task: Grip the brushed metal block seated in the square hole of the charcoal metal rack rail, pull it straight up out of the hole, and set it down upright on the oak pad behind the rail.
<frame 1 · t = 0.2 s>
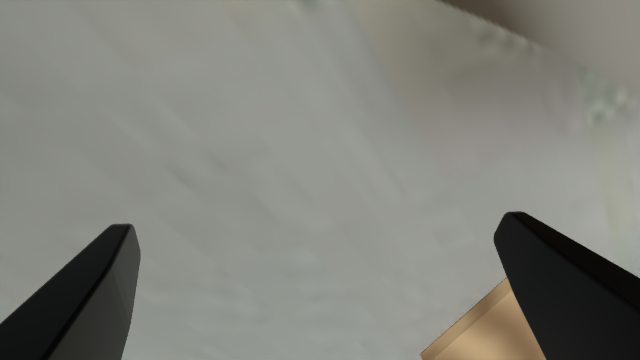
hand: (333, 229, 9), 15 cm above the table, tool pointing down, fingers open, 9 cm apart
oak pad: (507, 339, 35), on the table
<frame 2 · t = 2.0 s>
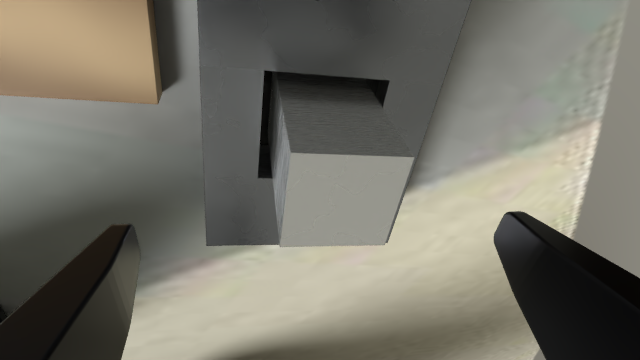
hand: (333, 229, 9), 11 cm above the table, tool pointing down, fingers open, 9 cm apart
brushed metal block: (310, 101, 19), resting in rack rail
rack rail: (322, 19, 17), on the table
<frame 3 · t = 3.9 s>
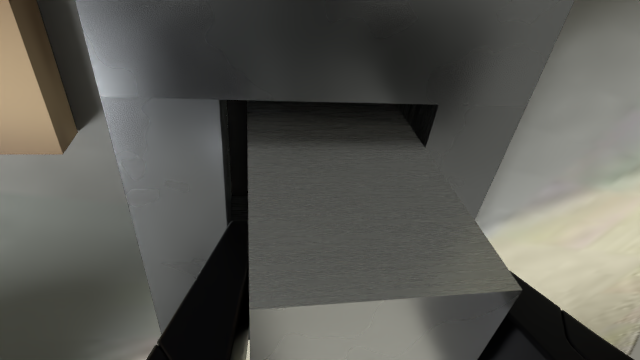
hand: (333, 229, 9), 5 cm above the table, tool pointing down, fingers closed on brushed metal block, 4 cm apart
brushed metal block: (308, 133, 13), resting in rack rail, touching gripper
rack rail: (320, 5, 10), on the table
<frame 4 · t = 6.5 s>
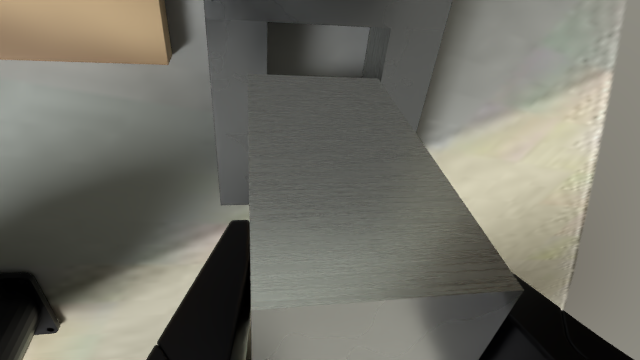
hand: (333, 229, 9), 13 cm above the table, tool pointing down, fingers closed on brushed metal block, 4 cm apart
brushed metal block: (309, 133, 13), point 8 cm above the table, touching gripper
when the fingers open (7 cm above the table, at t = 8.9 s): brushed metal block drops 1 cm, resting on oak pad.
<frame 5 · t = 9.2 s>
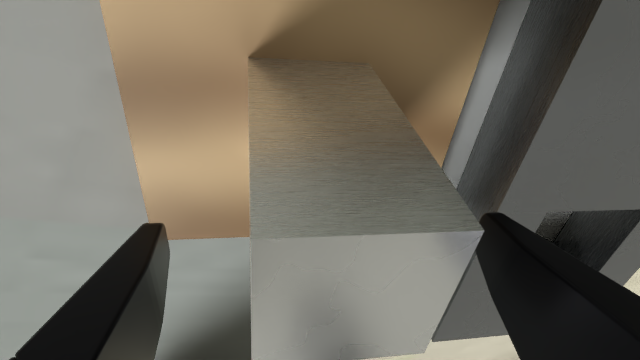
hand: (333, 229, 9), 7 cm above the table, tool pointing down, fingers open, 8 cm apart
brushed metal block: (305, 115, 14), point 1 cm above the table, touching oak pad
rack rail: (569, 146, 18), on the table
oak pad: (300, 100, 15), on the table
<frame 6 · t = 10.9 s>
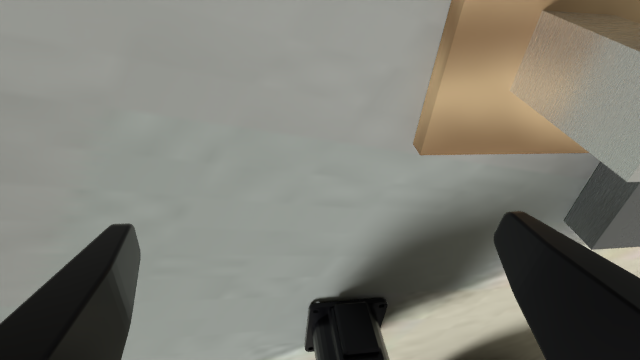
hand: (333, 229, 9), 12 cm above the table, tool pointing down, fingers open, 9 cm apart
brushed metal block: (560, 54, 20), point 1 cm above the table, touching oak pad
oak pad: (545, 46, 21), on the table
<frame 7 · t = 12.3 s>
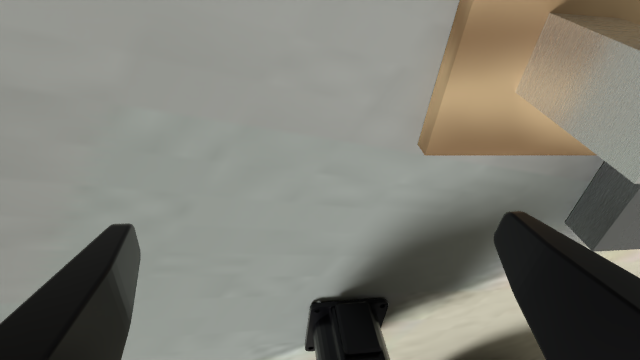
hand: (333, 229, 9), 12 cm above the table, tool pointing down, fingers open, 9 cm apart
brushed metal block: (565, 56, 20), point 1 cm above the table, touching oak pad
oak pad: (550, 49, 21), on the table
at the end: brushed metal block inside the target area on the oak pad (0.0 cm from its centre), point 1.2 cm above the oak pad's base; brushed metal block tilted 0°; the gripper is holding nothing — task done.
